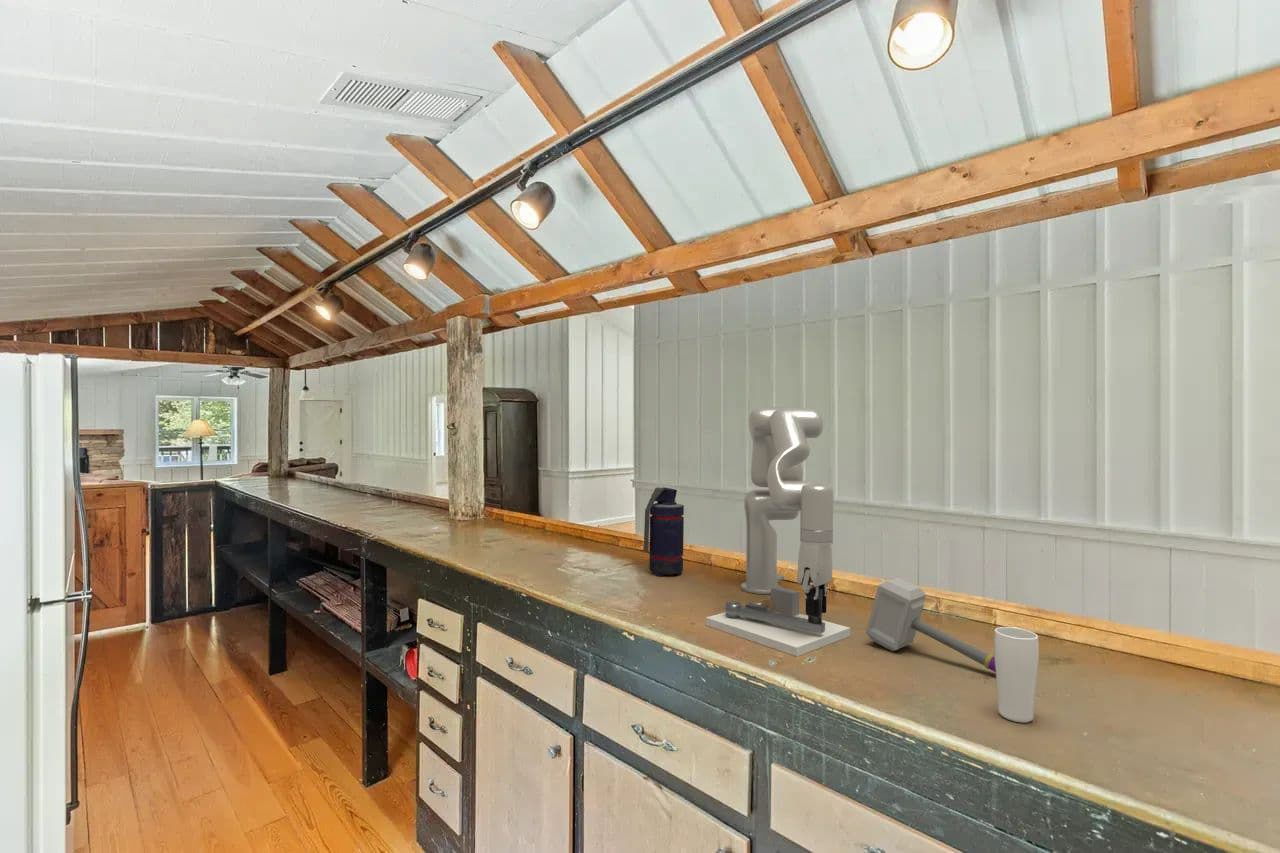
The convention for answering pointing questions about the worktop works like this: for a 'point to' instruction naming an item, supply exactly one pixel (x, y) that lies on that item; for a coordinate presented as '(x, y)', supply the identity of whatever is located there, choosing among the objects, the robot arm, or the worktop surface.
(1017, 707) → the drinking glass
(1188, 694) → the worktop surface
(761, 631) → the base
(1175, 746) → the worktop surface
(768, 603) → the walnut
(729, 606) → the lever
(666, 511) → the grenade
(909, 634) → the hammer
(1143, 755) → the worktop surface
